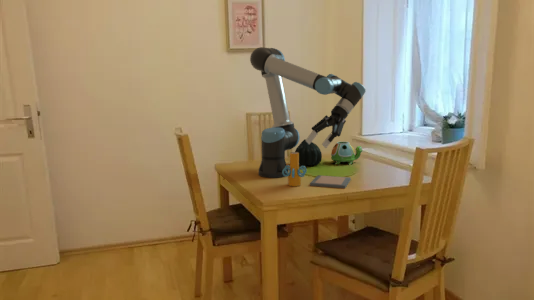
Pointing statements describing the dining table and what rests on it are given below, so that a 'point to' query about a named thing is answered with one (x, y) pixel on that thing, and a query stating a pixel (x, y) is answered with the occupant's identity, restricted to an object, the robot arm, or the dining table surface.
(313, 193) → the dining table surface
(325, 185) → the tray
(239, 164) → the dining table surface
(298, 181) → the tube with blue rings
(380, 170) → the dining table surface
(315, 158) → the squash
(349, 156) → the turtle holder
